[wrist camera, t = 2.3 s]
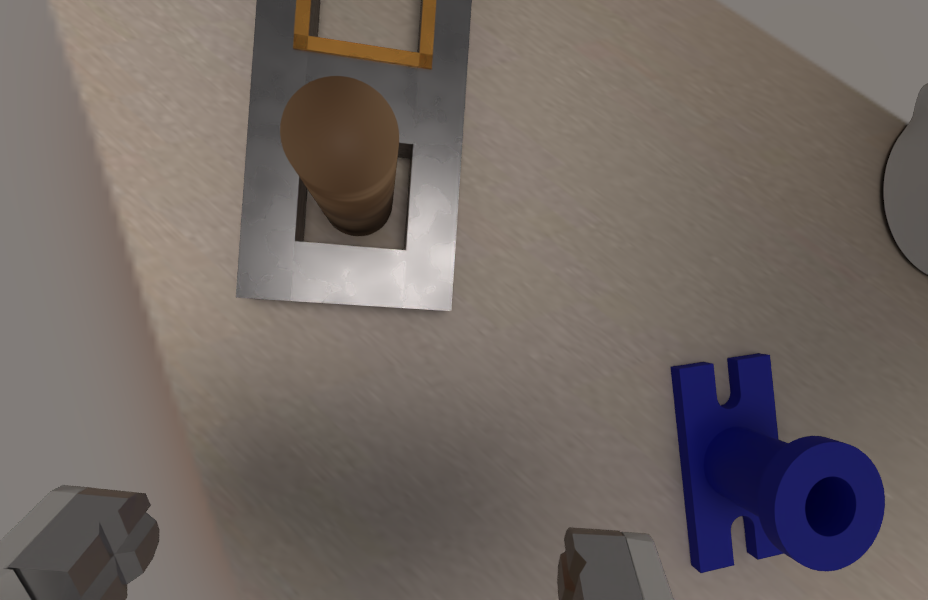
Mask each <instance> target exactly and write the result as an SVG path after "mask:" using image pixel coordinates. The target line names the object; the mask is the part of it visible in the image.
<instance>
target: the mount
mask: <svg viewBox="0 0 928 600" xmlns="http://www.w3.org/2000/svg"><path fill="white" fill-rule="evenodd" d="M727 362H728V371H729V381H730V392H731V393H730V398H729V400H728V401H727V402H726V403H725V404H724V405H721V406H720V404H719V403H718V400H717V394H716V384H715V375H714V365H713V364H712V363H707V362H699V363H693V364H686V365H680V366H673V367H671V375H672V385H673V394H674V404H675V414H676V423H677V433H678V442H679V452H680V461H681V471H682V480H683V490H684V499H685V509H686V519H687V528H688V538H689V547H690V557H691V565H692V566H693V567H694V568H695V569H697V570H698V571H699V572H700V573H703V572H708V571H712V570H716V569H720V568H724V567H729V566H733V565H734V559H733V549H732V540H731V525H732V523H733V521H734V520H735V519H736V518H737V517H739V516H743V519H744V528H745V538H746V548H747V552H748V553H749V554H751V555H752V556H753V557H755V558H756V559H762V558H767V557H771V556H775V555H779V554H783V553H784V554H786V555H787V556H789V557H791V558H792V559H794V560H795V561H797V562H798V563H800V564H802V565H803V566H805V567H808V568H810V569H813V570H817V571H834V570H838V569H842V568H844V567H846V566H849V565H850V564H852V563H854V562H855V561H856V560H858V559H859V558H860V557H861V556H862V555H863V554H864V553H865V552H866V551H867V550H868V549H869V548H870V546H871V545H872V543H873V542H874V540H875V538H876V536H877V534H878V532H879V530H880V527H881V524H882V520H883V516H884V508H885V495H884V488H883V484H882V480H881V477H880V475H879V472H878V470H877V469H876V467H875V465H874V464H873V462H872V461H871V460H870V459H869V458H868V456H867V455H866V454H864V453H863V452H862V451H861V450H859V449H857V448H856V447H854V446H851V445H849V444H846V443H843V442H840V441H836V440H833V439H830V438H827V437H822V436H807V437H802V438H799V439H796V440H794V441H792V442H790V443H786V442H783V441H780V440H778V431H777V421H776V411H775V401H774V391H773V381H772V371H771V361H770V355H767V354H760V353H758V354H751V355H745V356H738V357H732V358H727Z"/></svg>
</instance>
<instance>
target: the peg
mask: <svg viewBox="0 0 928 600" xmlns="http://www.w3.org/2000/svg"><path fill="white" fill-rule="evenodd" d="M280 137H281V143H282V147H283V150H284V152H285V155H286V157H287V159H288V161H289V162H290V164H291V165H292V167H293V168H294V170H295V171H296V173H297V174H298V175H299V177H300V178H301V180H302V181H303V183H304V184H305V186H306V187H307V189H308V190H309V192H310V193H311V195H312V196H313V198H314V199H315V201H316V202H317V204H318V205H319V207H320V208H321V210H322V211H323V212H324V214H325V215H326V217H327V218H328V220H329V221H330V223H331V224H332V225H333V226H334V227H335V228H337V229H338V230H340V231H341V232H343V233H345V234H348V235H353V236H365V235H369V234H372V233H374V232H376V231H377V230H379V229H380V228H381V227H383V225H384V224H385V223H386V222H387V220H388V218H389V216H390V214H391V210H392V203H393V194H394V185H395V175H396V166H397V157H398V147H399V128H398V124H397V120H396V117H395V114H394V112H393V110H392V108H391V107H390V105H389V104H388V102H387V101H386V100H385V99H384V97H383V96H382V95H381V94H380V93H379V92H378V91H376V90H375V89H374V88H372V87H371V86H370V85H368V84H366V83H364V82H362V81H359V80H357V79H354V78H350V77H344V76H328V77H322V78H319V79H316V80H313V81H311V82H309V83H307V84H306V85H304V86H302V87H301V88H300V89H299V90H297V91H296V92H295V94H294V95H293V96H292V97H291V98H290V100H289V101H288V103H287V105H286V107H285V109H284V111H283V114H282V118H281V123H280Z"/></svg>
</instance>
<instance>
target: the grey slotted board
mask: <svg viewBox="0 0 928 600" xmlns="http://www.w3.org/2000/svg"><path fill="white" fill-rule="evenodd" d="M471 3H472V0H421V10H420V24H419V39H418V53H416V52H410V51H403V50H397V49H391V48H384V47H378V46H371V45H365V44H358V43H352V42H346V41H339V40H333V39H326V38H320V37H318V26H319V11H320V0H257V5H256V19H255V33H254V47H253V61H252V75H251V89H250V104H249V118H248V132H247V146H246V160H245V174H244V189H243V203H242V217H241V231H240V245H239V259H238V273H237V288H236V297H238V298H254V299H270V300H286V301H301V302H317V303H333V304H349V305H365V306H381V307H396V308H412V309H428V310H444V311H451V306H452V290H453V275H454V260H455V245H456V230H457V215H458V200H459V184H460V169H461V154H462V139H463V124H464V109H465V94H466V78H467V63H468V48H469V33H470V18H471ZM328 76H344V77H350V78H354V79H357V80H359V81H362V82H364V83H366V84H368V85H370V86H371V87H372V88H374V89H375V90H376V91H378V92H379V93H380V94H381V95H382V96H383V97H384V99H385V100H386V101H387V102H388V104H389V105H390V107H391V108H392V110H393V112H394V114H395V117H396V120H397V124H398V128H399V147H398V157H400V158H409V159H410V173H409V188H408V203H407V218H406V233H405V248H404V250H395V249H383V248H371V247H359V246H347V245H335V244H323V243H311V242H304V228H305V213H306V199H307V187H306V186H305V184H304V183H303V181H302V180H301V178H300V177H299V175H298V174H297V173H296V171H295V170H294V168H293V167H292V165H291V164H290V162H289V161H288V159H287V157H286V155H285V152H284V150H283V147H282V143H281V137H280V123H281V118H282V114H283V111H284V109H285V107H286V105H287V103H288V101H289V100H290V98H291V97H292V96H293V95H294V94H295V92H296V91H297V90H299V89H300V88H301V87H302V86H304V85H306V84H307V83H309V82H311V81H313V80H316V79H319V78H322V77H328Z"/></svg>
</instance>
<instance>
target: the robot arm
mask: <svg viewBox="0 0 928 600" xmlns="http://www.w3.org/2000/svg"><path fill="white" fill-rule="evenodd" d="M884 205H885V212H886V216H887V220H888V224H889V227H890V230H891V232H892V234H893V237H894V239H895V241H896V243H897V244H898V246H899V248H900V249H901V251H902V252H903V253H904V255H905V256H906V257H907V258H908V259H909V261H910V262H911V263H912V264H913V265H915V266H916V267H917V268H918V269H920V270H921V271H922V272H924V273H926V274H927V275H928V84H926V85H924V86H923V87H922V88H921V90H920V92H919V94H918V97H917V101H916V104H915V108H914V113H913V117H912V119H911V121H910V122H909V124H908V125H907V127H906V128H905V129H904V131H903V132H902V134H901V135H900V136H899V138H898V139H897V141H896V143H895V145H894V147H893V149H892V151H891V154H890V156H889V159H888V163H887V166H886V171H885V177H884ZM150 506H151V505H150V503H149V500H148V498H147V495H146V494H145V493H136V492H126V491H117V490H108V489H97V488H90V487H78V486H66V485H62V486H60V487H58V488H56V489H54V490H52V491H51V492H50V493H48V494H47V495H46V496H45V498H44V499H42V500H41V501H40V502H39V503H38V504H37V505H36V506H35V507H34V508H33V509H32V510H31V511H30V512H29V513H28V514H27V515H26V516H25V517H24V518H23V519H22V520H21V521H20V522H19V523H18V524H17V525H16V526H15V527H14V528H13V529H12V530H11V531H10V532H9V533H8V534H7V535H6V536H5V537H4V538H3V539H2V540H0V600H126V598H127V584H128V583H130V582H131V581H133V580H134V579H135V578H137V577H138V576H140V575H141V574H142V573H144V571H145V569H146V568H147V566H148V565H149V564H150V562H151V560H152V559H153V557H154V554H155V551H156V549H157V546H158V543H159V527H158V524H157V521H156V520H155V519H153V518H152V517H151V516H150V515H149V514H147V513H146V511H147V510H148V508H149V507H150ZM564 543H565V550H566V551H565V552H564V553H562V554H561V555H560V559H559V564H558V577H557V585H558V598H559V600H674V599H673V596H672V593H671V590H670V587H669V584H668V581H667V578H666V575H665V572H664V570H663V567H662V564H661V561H660V558H659V555H658V552H657V549H656V546H655V543H654V541H653V539H652V538H651V536H650V535H649V534H646V533H632V532H620V531H616V530H601V529H586V528H571V527H569V528H568V529H567V530H566V534H565V538H564Z"/></svg>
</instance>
